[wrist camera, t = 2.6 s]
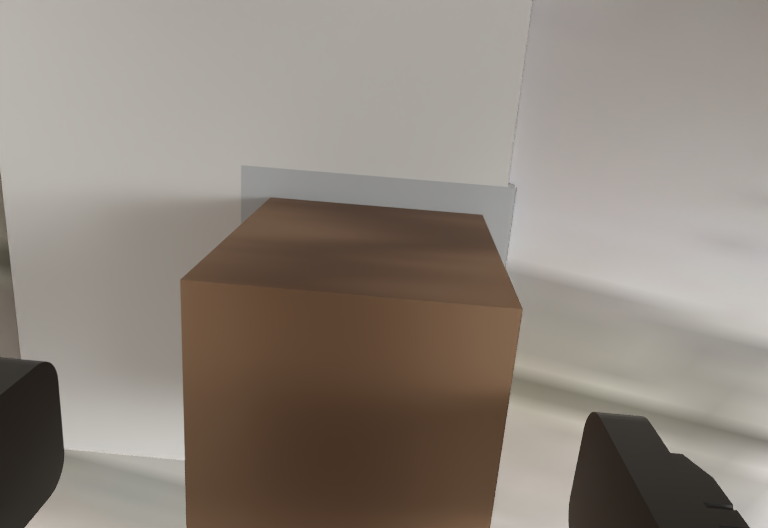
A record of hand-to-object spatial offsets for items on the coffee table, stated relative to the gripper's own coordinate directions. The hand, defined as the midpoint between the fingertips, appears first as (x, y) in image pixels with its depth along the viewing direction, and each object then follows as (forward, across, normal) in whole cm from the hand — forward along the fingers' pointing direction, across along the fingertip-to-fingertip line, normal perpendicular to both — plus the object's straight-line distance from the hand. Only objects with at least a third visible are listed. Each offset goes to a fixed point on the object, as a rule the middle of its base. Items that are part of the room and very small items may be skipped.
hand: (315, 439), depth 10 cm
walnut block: (+6, 0, 0) cm, 6 cm away
